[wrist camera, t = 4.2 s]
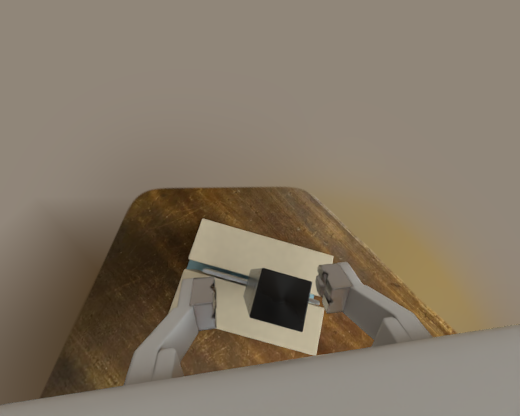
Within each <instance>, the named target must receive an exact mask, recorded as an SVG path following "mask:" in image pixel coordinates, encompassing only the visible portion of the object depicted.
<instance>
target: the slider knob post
mask: <svg viewBox="0 0 520 416" xmlns="http://www.w3.org/2000/svg"><path fill="white" fill-rule="evenodd" d="M202 272H204V273H207V274H211V275H214V276H218V277H221V278H225V279H229V280H232V281H236V282H239V283H243V284H246V288H245V292H244V295H243V297H244V300H245V304H246V307H247V310H248V314H249V317H250V318H252V319H256V320H260V321H263V322H267V323H270V324H274V325H277V326H281V327H285V328H288V329H292V330H295V331H299V332H303V328H304V323H305V317H306V312H307V307H308V302H310V303H313V304H317V305H319V302H320V301H317V300H315V299H312V298H309V297H310V292H311V287H312V282H311V281H308V280H305V279H301V278H298V277H294V276H291V275H287V274H284V273H280V272H277V271H273V270H270V269H266V268H258V269H251V270H250V274H249V277H248V279H245V278H242V277H238V276H235V275H231V274H228V273H224V272H220V271H217V270H213V269H203V271H202Z"/></svg>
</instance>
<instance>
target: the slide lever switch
mask: <svg viewBox="0 0 520 416" xmlns="http://www.w3.org/2000/svg"><path fill="white" fill-rule="evenodd" d="M188 259H190V260H189V263H188V266H187V269H184V271H183V274H182V277H181V280H180V282H179V285H178V288H177V291H176V294H175V296H174V299H173V302H172V305H171V308H170V311H169V313H170V312H171V310H172V309H173V308H177V304H178V299H179V294H180V289H181V284H182V281H183V279H189V278H199V277H211V276H214V275H211V274H207V273H204V272H202V271H203V269H213V270H217V271H220V272H224V273H228V274H231V275H235V276H238V277H242V278H245V279H248V277H249V274H250V270H251V269H258V268H266V269H270V270H273V271H277V272H280V273H284V274H287V275H291V276H294V277H298V278H301V279H305V280H308V281H311V282H312V287H311V292H310V297H309V298H312V299H313V298H314V295H317V296H320V295H319V294H318V292H317V289H316V282H315V281H316V276H317V275H318V271H317V268H318V266H319V265H324V264H332V262H333V256H331V255H328V254H324V253H321V252H317V251H314V250H311V249H307V248H304V247H300V246H297V245H293V244H290V243H286V242H283V241H279V240H276V239H272V238H269V237H265V236H262V235H259V234H255V233H252V232H248V231H245V230H241V229H238V228H234V227H231V226H227V225H224V224H220V223H217V222H214V221H210V220H207V219H202V221H201V223H200V226H199V229H198V232H197V235H196V237H195V240H194V243H193V246H192V249H191V252H190V254H189V257H188ZM214 277H215V287H216V291H217V308H216V312H217V328H216V329H220V330H223V331H227V332H231V333H234V334H238V335H242V336H245V337H249V338H252V339H256V340H260V341H263V342H267V343H270V344H274V345H278V346H281V347H285V348H288V349H292V350H296V351H299V352H303V353H307V354H310V355H314V356H316V353H317V348H318V342H319V336H320V331H321V325H322V319H323V313H324V308H322V307H320V306H318V305H315V304H313V303H310V302H308V307H307V312H306V317H305V323H304V328H303V332H299V331H295V330H292V329H288V328H285V327H281V326H277V325H274V324H270V323H267V322H263V321H260V320H256V319H252V318H250V317H249V314H248V310H247V307H246V304H245V300H244V297H243V295H244V292H245V288H246V284H243V283H239V282H236V281H232V280H229V279H225V278H221V277H218V276H214ZM320 297H321V296H320ZM169 313H168V314H169Z"/></svg>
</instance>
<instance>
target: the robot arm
mask: <svg viewBox="0 0 520 416" xmlns="http://www.w3.org/2000/svg"><path fill="white" fill-rule="evenodd" d="M317 271H318V275H317V276H316V281H315V282H316V289H317V292H318V294H319V295H320V296H321V297H322V298H323V300H322V303H323V305H324V308H325V310H326V312H327V314H328V313H338V312H343V313H344V314H345V315H346V316H348V317H349V318H350V319H351V320H352V321H353V322H354V323H355V324H357V325H358V326H359V327H360V328H361V329H362V330H363V331H365V332H366V333H367V334H368V335H369V336H370V337H371V338H373V339H374V342H373V345H372V347H369V348H363V349H356V350H350V351H343V352H337V353H331V354H324V355H318V356H311V357H305V358H299V359H292V360H286V361H279V362H273V363H267V364H260V365H254V366H247V367H241V368H235V369H228V370H222V371H215V372H209V373H202V374H196V375H190V376H184V375H183V371H182V368H181V365H180V362H181V360H182V358H183V357H184V355H185V354H186V352H187V350H188V349H189V347H190V345H191V344H192V342H193V341H194V339H195V337H196V336H197V334H198V331H203V330H209V329H215V328H217V312H216V308H217V291H216V287H215V277H214V276H211V277H199V278H189V279H183V281H182V284H181V289H180V294H179V299H178V304H177V308H173V309H172V310H171V312H170V313H169V314H168V315H167V316H166V317H165V318H164V319H163V320H162V322H161V323H160V324H159V325H158V326H157V327H156V328H155V329H154V330H153V332H152V333H151V334H150V335H149V336H148V337H147V338H146V339H145V340H144V342H143V343H142V344H141V345H140V346H139V347H138V348H137V349H136V350H135V352H134V355H133V358H132V361H131V364H130V367H129V370H128V373H127V376H126V379H125V383H124V386H119V387H112V388H106V389H99V390H93V391H86V392H80V393H74V394H67V395H61V396H54V397H48V398H41V399H35V400H28V401H23V402H16V403H9V404H3V405H0V416H520V324H516V325H510V326H504V327H497V328H491V329H485V330H479V331H472V332H465V333H459V334H452V335H446V336H440V337H432V336H431V335H430V334H429V332H428V331H427V330H426V329H425V327H424V326H423V325H422V324H421V322H420V321H419V320H418V319H417V317H416V316H415V315H414V314H413V313H412V312H410V311H409V310H407V309H405V308H404V307H402V306H400V305H399V304H397V303H395V302H394V301H392V300H390V299H389V298H387V297H385V296H384V295H382V294H380V293H379V292H377V291H375V290H374V289H372V288H370V287H369V286H367V285H363V284H362V282H361V281H360V280H359V278H358V277H357V275H356V274H355V272H354V271H353V269H352V268H351V266H350V265H349V264H348V263H347V262H341V263H333V264H324V265H319V266H318V268H317Z"/></svg>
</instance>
